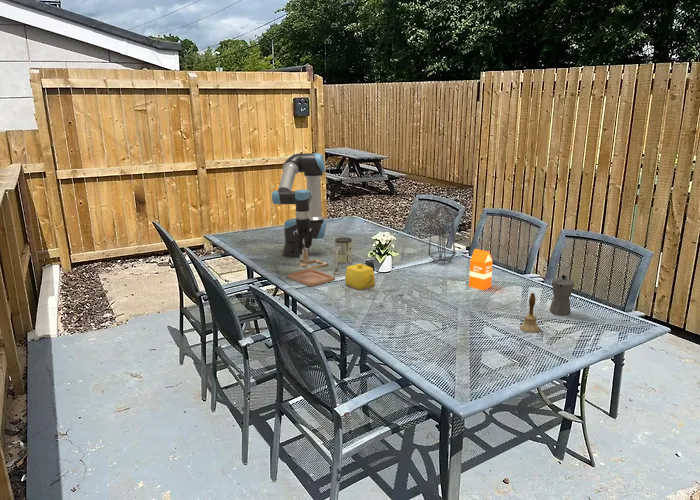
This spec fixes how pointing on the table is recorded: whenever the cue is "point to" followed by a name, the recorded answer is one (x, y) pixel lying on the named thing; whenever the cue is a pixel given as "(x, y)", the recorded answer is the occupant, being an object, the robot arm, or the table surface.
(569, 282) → the coffeepot
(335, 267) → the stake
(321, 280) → the tray
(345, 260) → the coffee can
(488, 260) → the orange juice
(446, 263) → the geometric lantern
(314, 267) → the tan wooden piece
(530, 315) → the hand bell
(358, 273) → the teapot
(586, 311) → the table surface
